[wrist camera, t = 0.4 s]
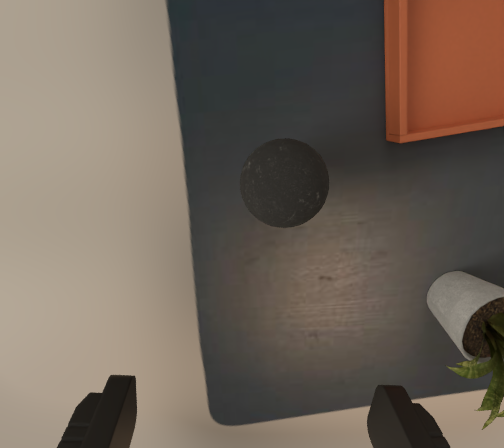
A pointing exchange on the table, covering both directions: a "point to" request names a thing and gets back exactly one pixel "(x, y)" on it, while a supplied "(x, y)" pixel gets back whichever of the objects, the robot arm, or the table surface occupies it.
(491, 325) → the house plant
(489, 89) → the terracotta tray
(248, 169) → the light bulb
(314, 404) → the table surface
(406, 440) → the robot arm
